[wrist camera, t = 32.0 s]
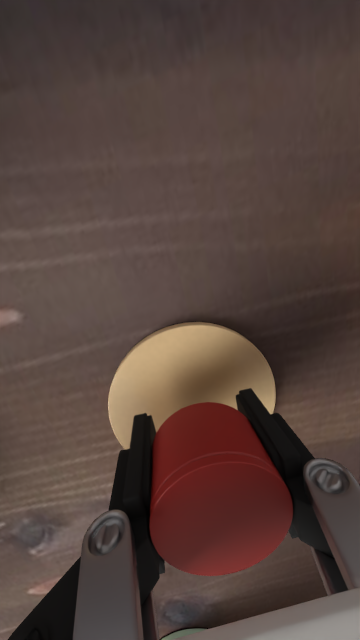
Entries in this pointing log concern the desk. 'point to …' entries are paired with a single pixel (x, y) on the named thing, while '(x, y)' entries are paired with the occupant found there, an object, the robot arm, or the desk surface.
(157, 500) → the cap
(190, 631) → the bottle
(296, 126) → the desk surface
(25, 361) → the desk surface
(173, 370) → the coaster
